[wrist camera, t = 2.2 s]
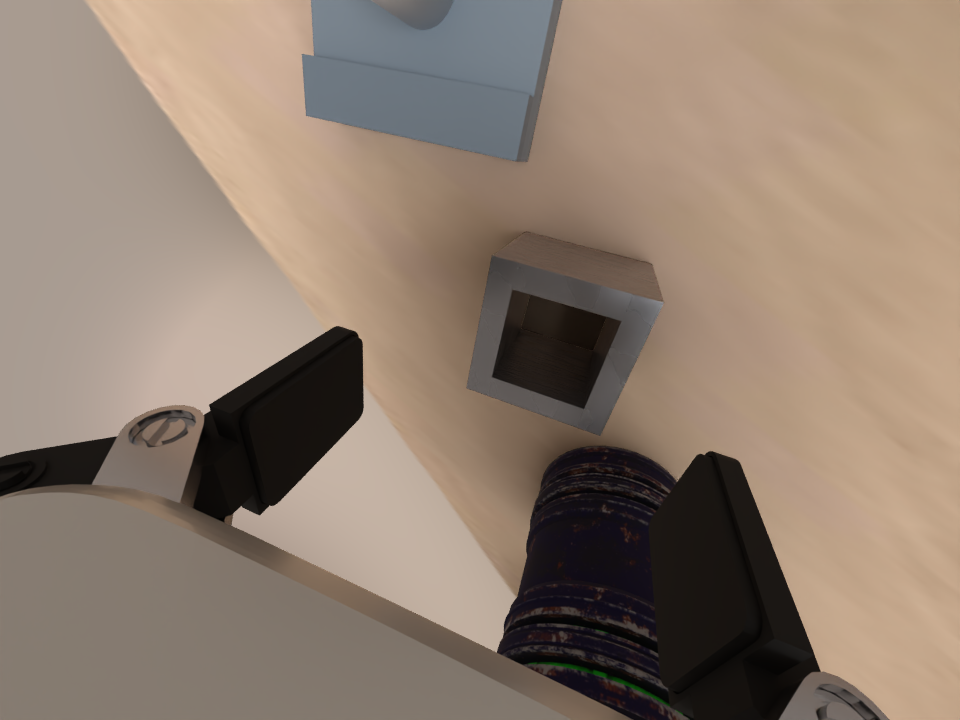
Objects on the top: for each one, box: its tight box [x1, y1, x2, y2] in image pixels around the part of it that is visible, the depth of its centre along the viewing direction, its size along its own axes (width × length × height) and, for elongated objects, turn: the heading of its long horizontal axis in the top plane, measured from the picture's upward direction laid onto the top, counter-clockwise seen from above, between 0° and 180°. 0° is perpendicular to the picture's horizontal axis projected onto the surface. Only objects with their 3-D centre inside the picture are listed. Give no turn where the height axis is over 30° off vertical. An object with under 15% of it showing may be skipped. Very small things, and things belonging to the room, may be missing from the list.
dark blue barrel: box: [497, 446, 694, 720], centre depth 20 cm, size 10×10×15 cm
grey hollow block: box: [467, 232, 664, 436], centre depth 18 cm, size 7×7×6 cm
